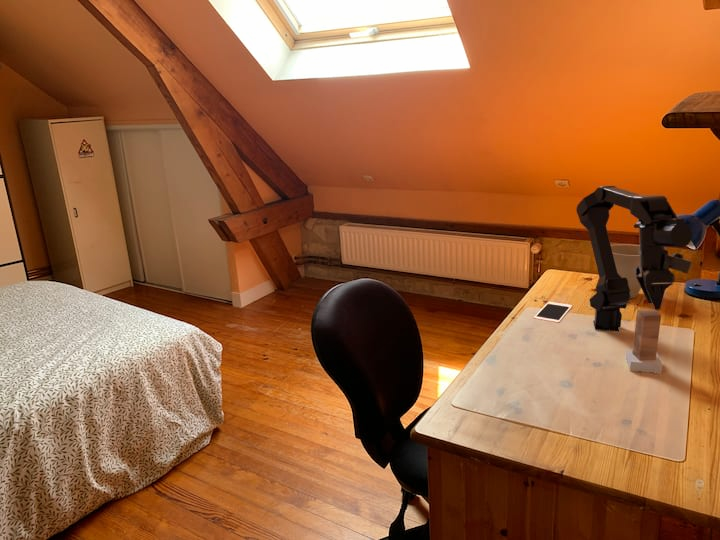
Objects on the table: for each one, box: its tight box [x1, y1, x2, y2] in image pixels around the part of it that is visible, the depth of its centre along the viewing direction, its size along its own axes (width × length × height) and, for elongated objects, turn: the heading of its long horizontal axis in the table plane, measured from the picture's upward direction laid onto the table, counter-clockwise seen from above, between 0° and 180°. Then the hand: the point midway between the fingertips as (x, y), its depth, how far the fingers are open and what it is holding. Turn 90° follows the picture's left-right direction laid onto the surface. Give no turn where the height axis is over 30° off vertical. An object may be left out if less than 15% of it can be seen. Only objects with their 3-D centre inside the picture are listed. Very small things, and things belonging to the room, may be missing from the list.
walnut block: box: [632, 308, 662, 361], centre depth 137 cm, size 4×4×12 cm
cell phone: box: [533, 301, 573, 323], centre depth 176 cm, size 8×16×1 cm, turn 146°
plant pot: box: [611, 243, 642, 299], centre depth 185 cm, size 15×15×16 cm
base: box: [625, 349, 663, 374], centre depth 139 cm, size 7×7×2 cm
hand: (654, 306), depth 142 cm, fingers open, 9 cm apart
